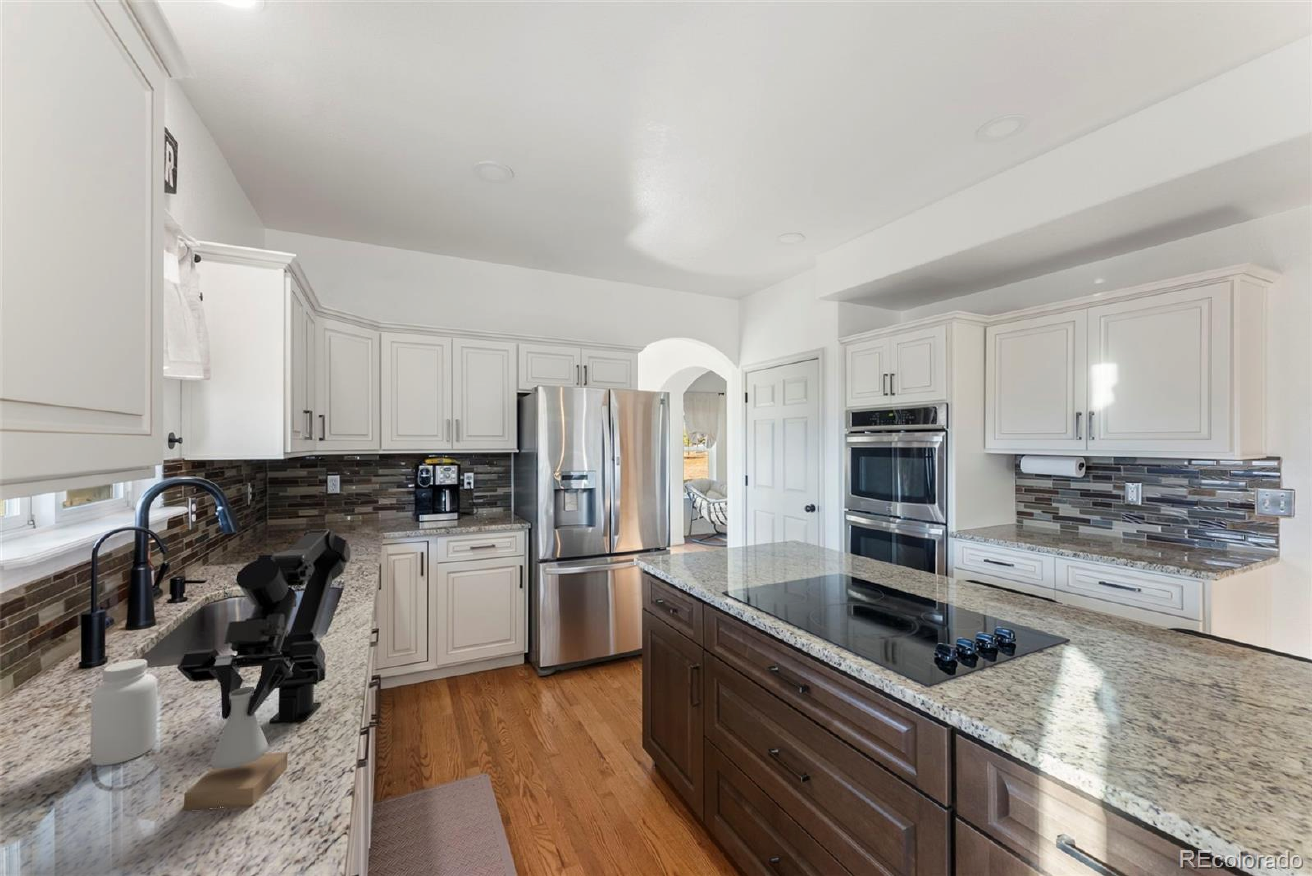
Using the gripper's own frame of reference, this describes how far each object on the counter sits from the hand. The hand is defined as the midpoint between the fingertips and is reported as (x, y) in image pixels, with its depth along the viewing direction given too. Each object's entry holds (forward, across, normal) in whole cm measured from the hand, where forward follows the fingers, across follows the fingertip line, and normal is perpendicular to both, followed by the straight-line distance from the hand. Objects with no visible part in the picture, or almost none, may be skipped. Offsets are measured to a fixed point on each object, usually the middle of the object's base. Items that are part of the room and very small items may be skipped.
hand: (236, 716), depth 79 cm
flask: (+4, 0, +6) cm, 7 cm away
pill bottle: (-4, -23, +20) cm, 31 cm away
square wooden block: (+8, 0, +9) cm, 12 cm away
